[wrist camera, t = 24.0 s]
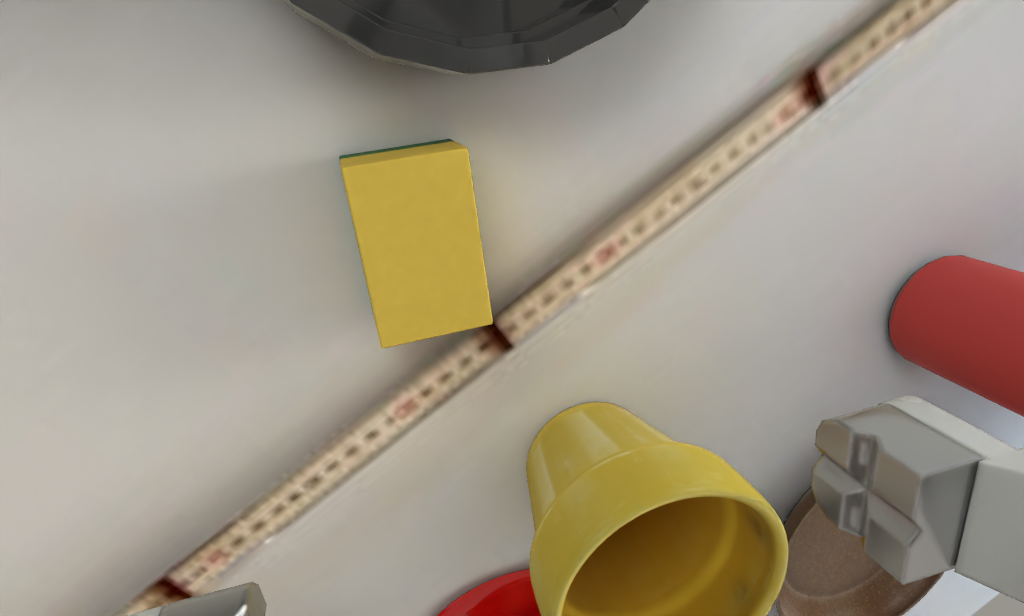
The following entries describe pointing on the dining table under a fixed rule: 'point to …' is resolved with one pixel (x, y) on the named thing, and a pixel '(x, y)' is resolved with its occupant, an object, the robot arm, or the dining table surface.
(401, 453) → the dining table surface
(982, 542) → the robot arm
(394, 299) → the sponge
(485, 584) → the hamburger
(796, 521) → the saucer
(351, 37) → the pan
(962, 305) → the beer can
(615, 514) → the flower pot
